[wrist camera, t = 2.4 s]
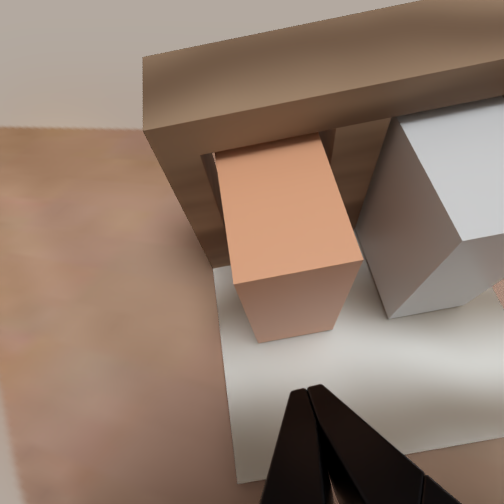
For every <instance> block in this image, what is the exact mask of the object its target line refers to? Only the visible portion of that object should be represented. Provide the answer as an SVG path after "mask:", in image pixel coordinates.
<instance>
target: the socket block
mask: <svg viewBox="0 0 504 504" xmlns="http://www.w3.org/2000/svg"><path fill="white" fill-rule="evenodd" d="M497 96H503V98H504V0H420V1H416V2H411V3H405V4H401V5H396V6H391V7H386V8H381V9H376V10H371V11H366V12H362V13H357V14H352V15H347V16H342V17H337V18H333V19H327V20H322V21H317V22H312V23H308V24H303V25H298V26H293V27H288V28H283V29H278V30H273V31H268V32H264V33H258V34H254V35H249V36H244V37H239V38H234V39H229V40H225V41H220V42H215V43H209V44H205V45H200V46H195V47H190V48H185V49H180V50H175V51H170V52H165V53H161V54H155V55H151V56H146V57H143V132H144V134H145V136H146V138H147V140H148V142H149V144H150V146H151V148H152V150H153V152H154V154H155V156H156V158H157V160H158V162H159V164H160V165H161V167H162V169H163V171H164V173H165V175H166V177H167V179H168V181H169V183H170V185H171V187H172V189H173V191H174V193H175V195H176V197H177V199H178V201H179V203H180V205H181V207H182V209H183V211H184V213H185V215H186V217H187V219H188V221H189V222H190V224H191V226H192V228H193V230H194V232H195V234H196V236H197V238H198V240H199V242H200V244H201V246H202V248H203V250H204V252H205V254H206V256H207V258H208V260H209V262H210V264H211V266H212V268H213V273H214V282H215V291H216V300H217V309H218V317H219V326H220V335H221V344H222V353H223V361H224V370H225V379H226V388H227V397H228V406H229V414H230V423H231V432H232V441H233V450H234V458H235V467H236V476H237V484H241V483H247V482H253V481H258V480H264V479H266V477H267V474H268V470H269V467H270V463H271V459H272V456H273V452H274V448H275V445H276V441H277V438H278V434H279V430H280V427H281V423H282V419H283V416H284V412H285V408H286V405H287V401H288V398H289V394H290V392H291V391H292V390H296V389H300V388H305V389H306V390H307V388H308V387H309V386H313V385H318V384H322V385H324V386H325V387H326V388H327V389H328V390H330V391H331V392H332V393H333V394H334V395H335V396H337V397H338V398H339V399H340V400H341V401H342V402H343V403H345V404H346V405H347V406H348V407H349V408H350V409H352V410H353V411H354V412H355V413H356V414H357V415H359V416H360V417H361V418H362V419H363V420H364V421H365V422H367V423H368V424H369V425H370V426H371V427H372V428H374V429H375V430H376V431H377V432H378V433H379V434H381V435H382V436H383V437H384V438H385V439H386V440H388V441H389V442H390V443H391V444H392V445H393V446H394V447H396V448H397V449H398V450H399V451H400V452H401V453H403V454H404V455H405V454H411V453H417V452H422V451H428V450H434V449H439V448H445V447H451V446H456V445H462V444H468V443H473V442H479V441H485V440H490V439H496V438H502V437H504V309H503V307H502V305H501V303H500V301H499V299H498V298H497V296H496V294H495V292H494V290H493V288H492V287H490V288H489V289H487V290H486V291H484V292H483V293H481V294H480V295H478V296H477V297H475V298H474V299H472V300H471V301H470V302H468V303H467V304H465V305H462V306H457V307H452V308H446V309H441V310H435V311H430V312H425V313H419V314H414V315H408V316H403V317H398V318H392V319H388V316H387V313H386V311H385V308H384V305H383V302H382V300H381V297H380V294H379V291H378V289H377V286H376V283H375V280H374V278H373V275H372V272H371V269H370V267H369V264H368V261H367V258H366V256H365V253H364V250H363V247H362V244H361V242H360V239H359V236H358V233H357V231H356V228H355V227H356V224H357V221H358V218H359V214H360V211H361V208H362V205H363V202H364V199H365V196H366V193H367V190H368V187H369V184H370V181H371V178H372V175H373V172H374V169H375V166H376V163H377V160H378V157H379V154H380V151H381V148H382V145H383V142H384V139H385V136H386V132H387V129H388V126H389V123H390V120H391V117H396V116H401V115H406V114H411V113H416V112H421V111H426V110H431V109H436V108H441V107H446V106H452V105H457V104H462V103H467V102H472V101H477V100H482V99H487V98H492V97H497ZM315 132H318V133H319V136H320V139H321V142H322V145H323V147H324V150H325V153H326V156H327V159H328V161H329V164H330V167H331V170H332V173H333V175H334V178H335V181H336V184H337V187H338V189H339V192H340V195H341V198H342V201H343V203H344V206H345V209H346V212H347V215H348V217H349V220H350V223H351V226H352V229H353V231H354V234H355V237H356V240H357V243H358V245H359V248H360V251H361V254H362V257H363V259H364V260H363V262H362V264H361V267H360V269H359V271H358V273H357V276H356V278H355V280H354V282H353V285H352V287H351V289H350V291H349V294H348V296H347V298H346V300H345V303H344V305H343V307H342V309H341V312H340V314H339V316H338V318H337V320H336V323H335V325H334V327H333V329H332V330H327V331H322V332H317V333H311V334H306V335H300V336H295V337H290V338H284V339H279V340H273V341H268V342H263V343H258V342H257V339H256V337H255V335H254V332H253V330H252V327H251V325H250V323H249V320H248V318H247V315H246V313H245V311H244V308H243V306H242V303H241V301H240V299H239V296H238V294H237V291H236V289H235V287H234V284H233V277H232V270H231V263H230V256H229V249H228V242H227V235H226V228H225V221H224V214H223V207H222V200H221V193H220V186H219V179H218V172H217V169H216V165H215V162H214V158H213V155H212V153H213V152H218V151H223V150H228V149H234V148H239V147H244V146H249V145H254V144H259V143H264V142H269V141H274V140H279V139H284V138H289V137H294V136H299V135H305V134H310V133H315Z"/></svg>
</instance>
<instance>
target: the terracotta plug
mask: <svg viewBox="0 0 504 504" xmlns="http://www.w3.org/2000/svg"><path fill="white" fill-rule="evenodd" d="M215 158H216V165H217V172H218V179H219V186H220V193H221V200H222V207H223V214H224V221H225V228H226V235H227V242H228V249H229V256H230V263H231V270H232V277H233V284H234V287H235V289H236V291H237V294H238V296H239V299H240V301H241V303H242V306H243V308H244V311H245V313H246V315H247V318H248V320H249V323H250V325H251V327H252V330H253V332H254V335H255V337H256V339H257V342H258V343H263V342H268V341H273V340H279V339H284V338H290V337H295V336H300V335H306V334H311V333H317V332H322V331H327V330H332V329H333V327H334V325H335V323H336V320H337V318H338V316H339V314H340V312H341V309H342V307H343V305H344V303H345V300H346V298H347V296H348V294H349V291H350V289H351V287H352V285H353V282H354V280H355V278H356V276H357V273H358V271H359V269H360V267H361V264H362V262H363V260H364V259H363V257H362V254H361V251H360V248H359V245H358V243H357V240H356V237H355V234H354V231H353V229H352V226H351V223H350V220H349V217H348V215H347V212H346V209H345V206H344V203H343V201H342V198H341V195H340V192H339V189H338V187H337V184H336V181H335V178H334V175H333V173H332V170H331V167H330V164H329V161H328V159H327V156H326V153H325V150H324V147H323V145H322V142H321V139H320V136H319V133H318V132H315V133H310V134H305V135H299V136H294V137H289V138H284V139H279V140H274V141H269V142H264V143H259V144H254V145H249V146H244V147H239V148H234V149H228V150H223V151H218V152H215Z"/></svg>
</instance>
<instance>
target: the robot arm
mask: <svg viewBox="0 0 504 504" xmlns="http://www.w3.org/2000/svg"><path fill="white" fill-rule="evenodd" d="M329 477H330V478H329ZM330 480H331V483H332V486H333V489H334V491H335V494H336V497H337V499H338V502H339V504H461V503H460V502H459V501H458V500H457V499H455V498H454V497H453V496H452V495H450V494H449V493H448V492H447V491H446V490H444V489H443V488H442V487H441V486H440V485H439V484H437V483H436V482H435V481H434V480H433V479H432V478H431V477H429V476H428V475H425V473H424V472H423V471H422V470H421V469H420V468H419V467H418V466H416V465H415V464H414V463H413V462H412V461H411V460H410V459H408V458H407V457H406V456H405V455H404V454H403V453H401V452H400V451H399V450H398V449H397V448H396V447H394V446H393V445H392V444H391V443H390V442H389V441H388V440H386V439H385V438H384V437H383V436H382V435H381V434H379V433H378V432H377V431H376V430H375V429H374V428H372V427H371V426H370V425H369V424H368V423H367V422H365V421H364V420H363V419H362V418H361V417H360V416H359V415H357V414H356V413H355V412H354V411H353V410H352V409H350V408H349V407H348V406H347V405H346V404H345V403H343V402H342V401H341V400H340V399H339V398H338V397H337V396H335V395H334V394H333V393H332V392H331V391H330V390H328V389H327V388H326V387H325V386H324V385H322V384H318V385H313V386H309V387H308V388H307V390H306V389H305V388H300V389H296V390H292V391H291V392H290V394H289V398H288V401H287V405H286V408H285V412H284V416H283V419H282V423H281V427H280V430H279V434H278V438H277V441H276V445H275V448H274V452H273V456H272V459H271V463H270V467H269V470H268V474H267V477H266V481H265V485H264V488H263V492H262V496H261V499H260V503H259V504H334V498H333V493H332V488H331V483H330Z"/></svg>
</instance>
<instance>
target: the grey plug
mask: <svg viewBox="0 0 504 504" xmlns="http://www.w3.org/2000/svg"><path fill="white" fill-rule="evenodd" d="M355 228H356V231H357V233H358V236H359V239H360V242H361V244H362V247H363V250H364V253H365V256H366V258H367V261H368V264H369V267H370V269H371V272H372V275H373V278H374V280H375V283H376V286H377V289H378V291H379V294H380V297H381V300H382V302H383V305H384V308H385V311H386V313H387V316H388V319H392V318H398V317H403V316H408V315H414V314H419V313H425V312H430V311H435V310H441V309H446V308H452V307H457V306H462V305H465V304H467V303H468V302H470V301H471V300H472V299H474V298H475V297H477V296H478V295H480V294H481V293H483V292H484V291H486V290H487V289H489V288H490V287H492V286H493V285H495V284H496V283H498V282H499V281H501V280H502V279H504V98H503V96H497V97H492V98H487V99H482V100H477V101H472V102H467V103H462V104H457V105H452V106H446V107H441V108H436V109H431V110H426V111H421V112H416V113H411V114H406V115H401V116H396V117H391V120H390V123H389V126H388V129H387V132H386V136H385V139H384V142H383V145H382V148H381V151H380V154H379V157H378V160H377V163H376V166H375V169H374V172H373V175H372V178H371V181H370V184H369V187H368V190H367V193H366V196H365V199H364V202H363V205H362V208H361V211H360V214H359V218H358V221H357V224H356V227H355Z"/></svg>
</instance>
